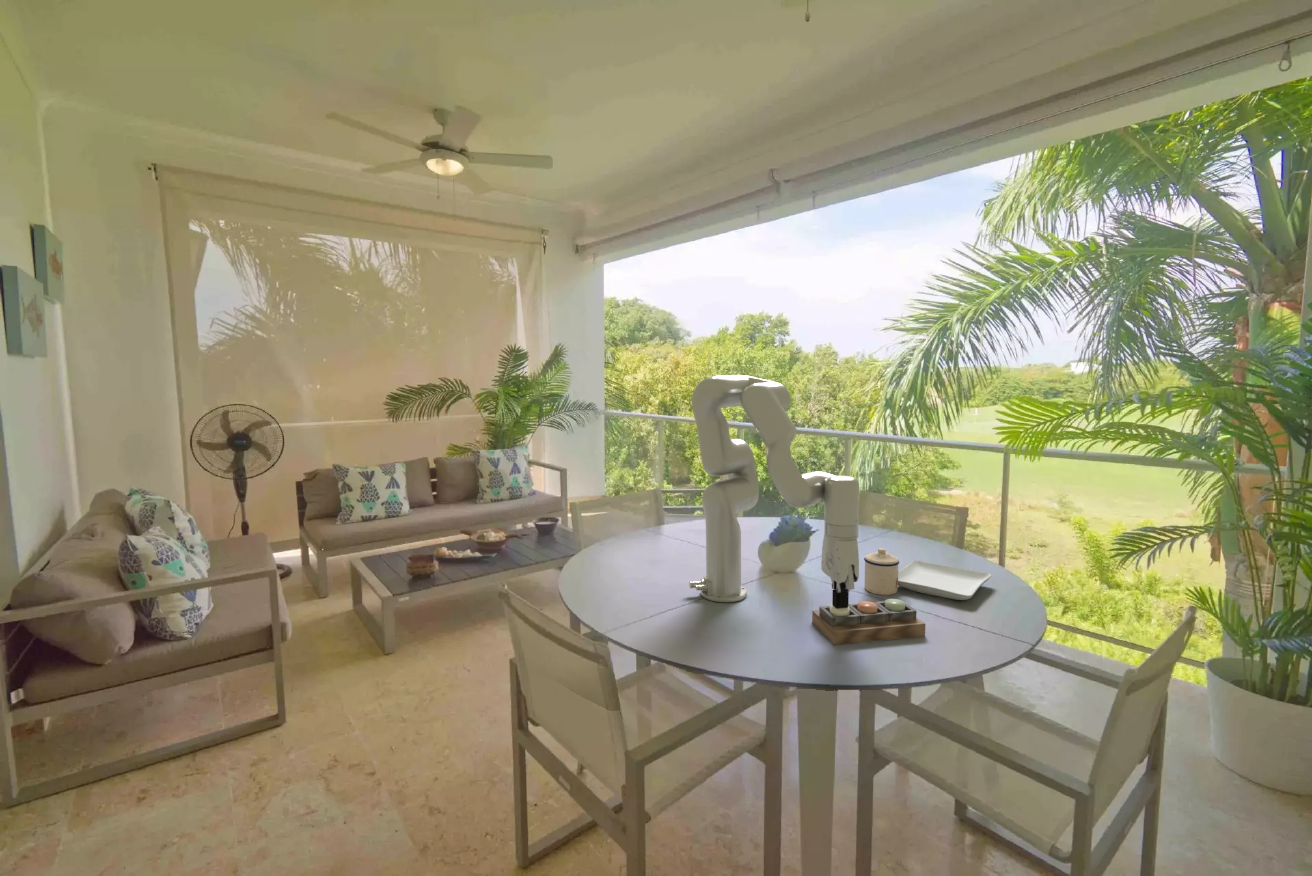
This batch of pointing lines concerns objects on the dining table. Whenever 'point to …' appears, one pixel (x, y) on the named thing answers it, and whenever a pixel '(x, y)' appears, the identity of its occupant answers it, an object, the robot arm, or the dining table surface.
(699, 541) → the dining table surface
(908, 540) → the dining table surface
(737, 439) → the robot arm
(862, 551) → the dining table surface
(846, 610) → the cream button
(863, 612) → the terracotta button
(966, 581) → the salad plate
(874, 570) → the teacup with lid
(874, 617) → the button console
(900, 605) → the sage button
